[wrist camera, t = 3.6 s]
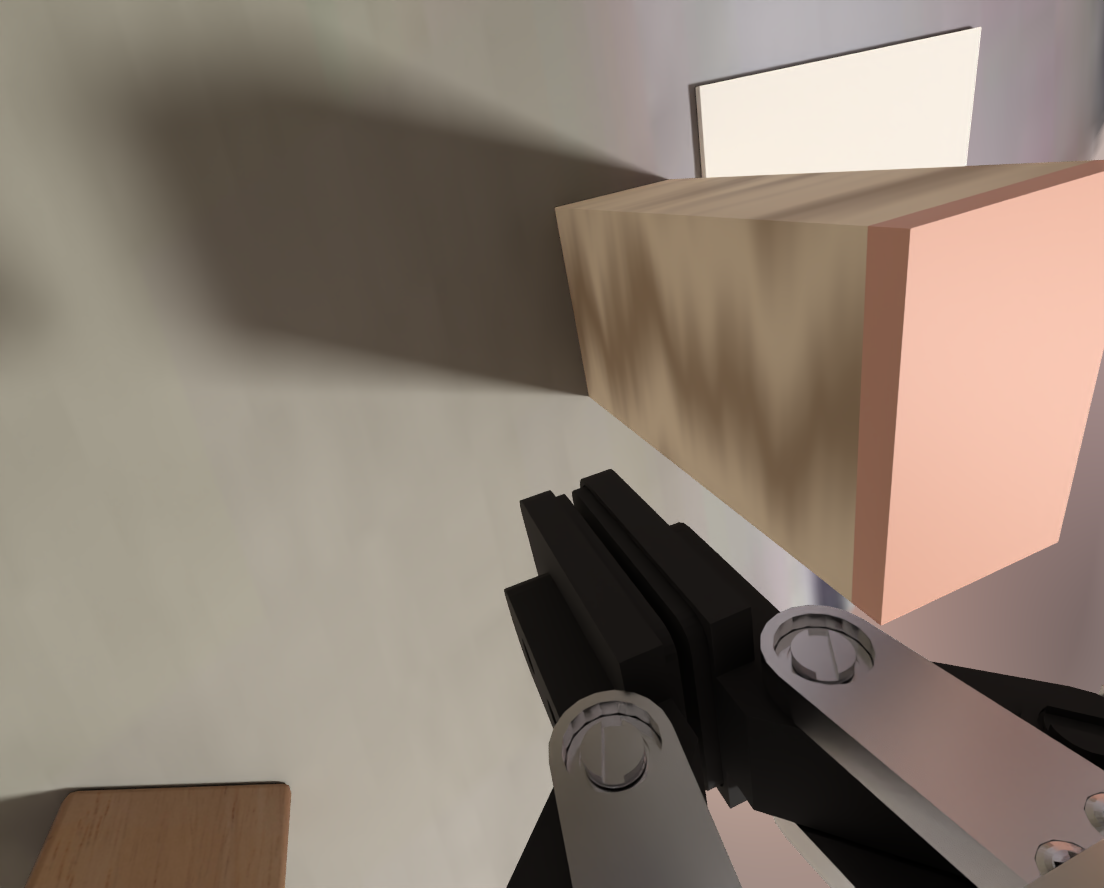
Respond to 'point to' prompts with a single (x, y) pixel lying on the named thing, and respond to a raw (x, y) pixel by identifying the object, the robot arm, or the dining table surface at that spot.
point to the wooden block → (168, 839)
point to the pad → (845, 112)
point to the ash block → (857, 356)
